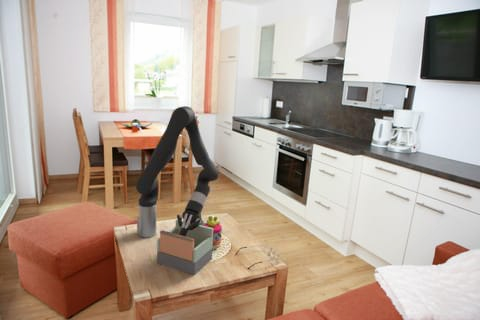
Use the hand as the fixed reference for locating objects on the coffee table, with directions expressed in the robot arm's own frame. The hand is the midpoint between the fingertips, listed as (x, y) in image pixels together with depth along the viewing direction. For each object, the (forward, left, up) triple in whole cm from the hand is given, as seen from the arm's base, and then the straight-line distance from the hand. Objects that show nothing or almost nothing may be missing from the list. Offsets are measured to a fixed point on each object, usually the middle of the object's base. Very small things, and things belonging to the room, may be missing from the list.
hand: (181, 236), depth 154 cm
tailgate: (0, -4, -8) cm, 9 cm away
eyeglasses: (+29, +24, -15) cm, 40 cm away
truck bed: (0, +4, -14) cm, 15 cm away
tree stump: (-15, +35, -14) cm, 41 cm away
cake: (+3, +24, -14) cm, 28 cm away
